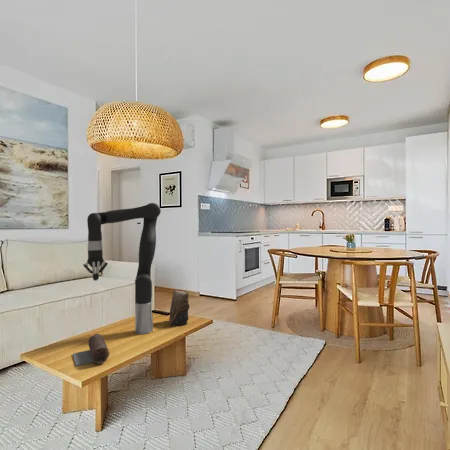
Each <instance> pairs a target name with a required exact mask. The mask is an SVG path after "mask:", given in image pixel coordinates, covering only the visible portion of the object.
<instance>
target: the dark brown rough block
mask: <svg viewBox="0 0 450 450" xmlns="http://www.w3.org/2000/svg"><path fill="white" fill-rule="evenodd" d="M189 295H190V294H189V292H187V291H186V290H184V291H182V290H181V291H180V290H177V289H173V294H172V298H171V303H170V310H169V318H168V319H169V320H168V322H169V325H168V326H169V327H179V326H180V327H181V326H187V325H188V321H189V310H190V304H189Z"/></svg>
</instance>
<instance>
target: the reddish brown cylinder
mask: <svg viewBox="0 0 450 450" xmlns="http://www.w3.org/2000/svg"><path fill="white" fill-rule="evenodd" d="M87 342H88V343H87V344H88V348H89V350H90V351H91V354H92V358H93V361H94V363H95V364H99V365H100V364H104V363H105V362H106V361H107V360H108V358H109V357H110V350H109V348H108V346H107V343H106V341H105V338H104V336H103V335H102V334H100V333H95V334H93V335H91V336H90V337H89V339H88V341H87Z"/></svg>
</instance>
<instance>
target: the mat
mask: <svg viewBox="0 0 450 450" xmlns="http://www.w3.org/2000/svg"><path fill="white" fill-rule="evenodd" d="M72 357H73V360H74V361H73V362H74V364H75V367H80V366H85V365H88V364H93V363H95V362H94V361H93V358H92V354H91V351H90V349H89V350H84V351H78V352H73V353H72Z"/></svg>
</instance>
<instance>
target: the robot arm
mask: <svg viewBox="0 0 450 450" xmlns="http://www.w3.org/2000/svg"><path fill="white" fill-rule="evenodd" d="M161 211H162V210H161V206H159V204H157V203H155V202H150V203H147V204H146V205H145V204H144V205H142V206H137V207H133V208H132V207H129V208H122V209H114V210H113V209H112V210H108V211H104V212H92V213H91V212H90V214H89V215H88V216H87V221H86V222H87V230H88V235H87V241H88V242H87V260H86V262H85V263H84V264H83V265H82V266H83V268H85V269H86V270H87V272H89V273H90V274H92V279H93V280H94V282H95V281H98V280H99V279H100V278H99V275H100V273H103V271H104V270H105V268H106V267H108V264H109V263H108V262H106V261H105V260H104V258H103V257H104V255H103V254H104V251H103V241H102V240H103V233H102V225H107V224H115V223H121V222H127V221H130V220H131V221H132V220H136V219H143V225H142V230H141V234H140V241H139V246H138V267H137V272H136V276H135V280H134V284H135V285H134V286H135V287H134V291H135V292H134V295H135V296H134V298H135V299H134V303H135V304H134V308H135V309H134V315H135V318H134V319H135V321H134V323H135V326H134V327H135V329H134V332H135V334H138V335H146V334H149V333H151V332H154V331H153V330H154V327H153V326H154V319H153V318H154V316H153V314H152V312H153V311H152V310H153V309H152V307H153V306H152V303H153V301H152V297H153V282H152V278H151V273H152V272H151V271H152V270H151V269H152V264H153V261H154V257H155V252H156V248H157V247H156V246H157V245H156V244H157V234H156V233H157V232H156V231H157V230H156V227H157V221H158V217H159V216H160V214H161ZM89 266H90V267H91V268H89Z"/></svg>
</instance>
